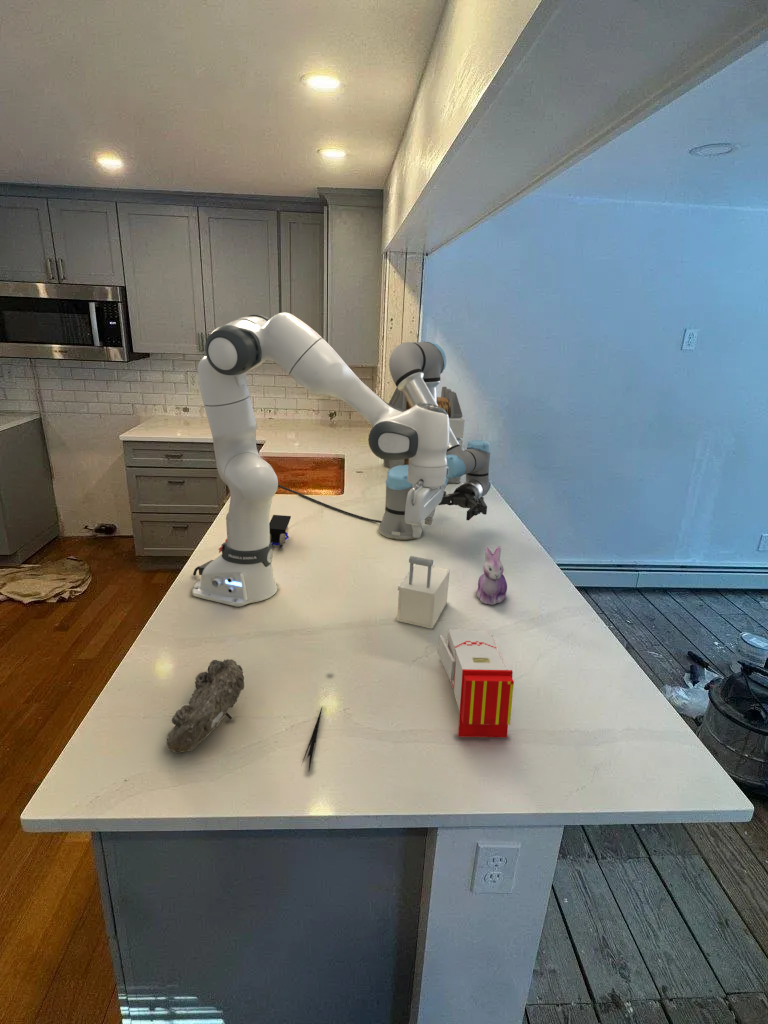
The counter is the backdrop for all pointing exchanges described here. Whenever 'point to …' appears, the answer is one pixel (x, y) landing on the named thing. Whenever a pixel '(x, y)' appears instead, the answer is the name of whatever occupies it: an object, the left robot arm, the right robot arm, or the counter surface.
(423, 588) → the lid
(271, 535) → the figurine character
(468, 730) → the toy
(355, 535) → the counter surface
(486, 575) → the figurine
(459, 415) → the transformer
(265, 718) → the counter surface
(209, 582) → the left robot arm
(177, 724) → the fossil
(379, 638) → the counter surface
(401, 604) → the chest
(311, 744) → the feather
